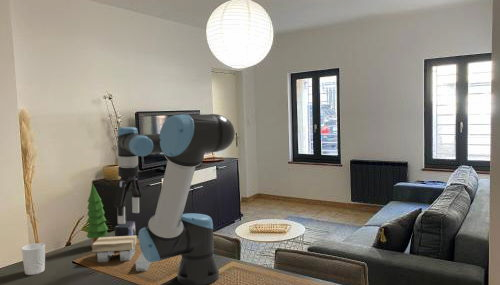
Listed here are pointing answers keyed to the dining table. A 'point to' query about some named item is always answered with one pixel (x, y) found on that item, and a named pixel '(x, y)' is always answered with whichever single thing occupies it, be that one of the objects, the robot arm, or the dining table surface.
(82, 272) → the dining table surface
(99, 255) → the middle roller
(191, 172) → the robot arm
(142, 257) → the grey marble block
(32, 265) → the white cup
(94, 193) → the decorative tree
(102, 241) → the oak slab
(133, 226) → the small box
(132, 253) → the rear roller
